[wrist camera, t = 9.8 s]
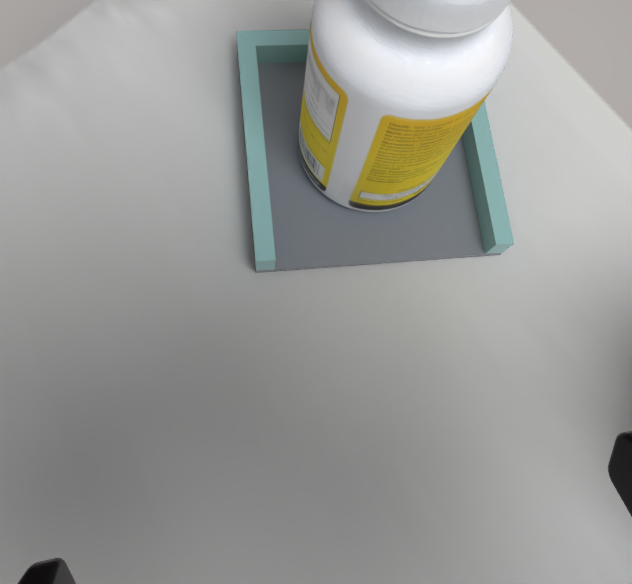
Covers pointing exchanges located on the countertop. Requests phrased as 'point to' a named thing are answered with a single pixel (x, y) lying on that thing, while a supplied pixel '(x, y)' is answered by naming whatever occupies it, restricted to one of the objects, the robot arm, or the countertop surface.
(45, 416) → the countertop surface
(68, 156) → the countertop surface
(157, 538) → the countertop surface
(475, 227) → the dock
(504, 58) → the pill bottle
